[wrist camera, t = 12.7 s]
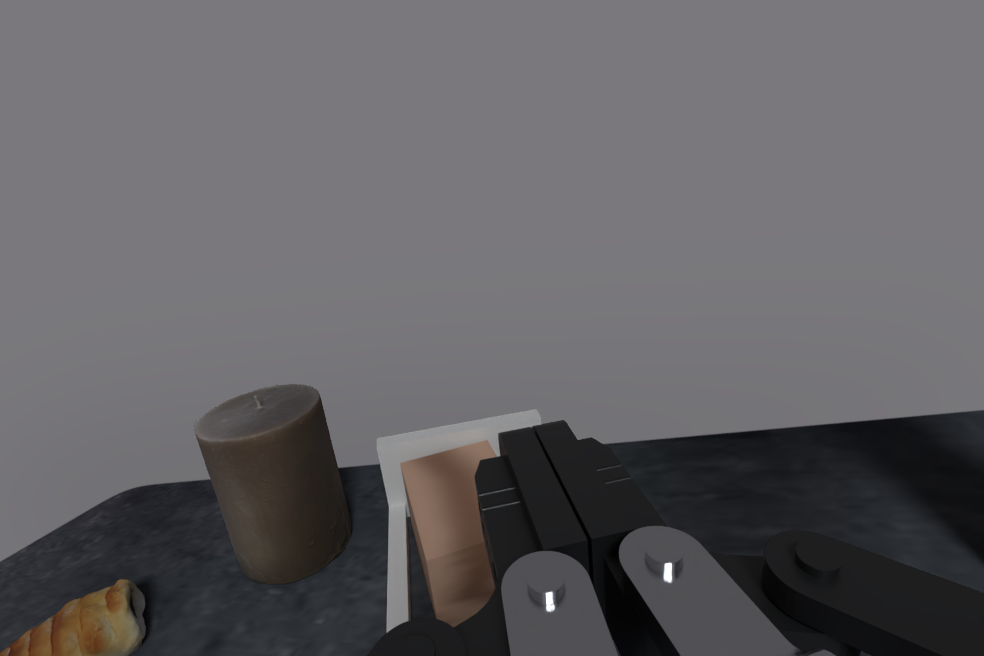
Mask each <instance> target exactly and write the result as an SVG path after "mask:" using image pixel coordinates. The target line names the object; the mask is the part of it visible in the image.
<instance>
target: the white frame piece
mask: <svg viewBox="0 0 984 656" xmlns="http://www.w3.org/2000/svg"><path fill="white" fill-rule="evenodd" d="M536 425H541V417H540V415H539V413H538V411H537V409H534V410H529V411H523V412H518V413H512V414H507V415H502V416H496V417H491V418H485V419H480V420H474V421H469V422H463V423H458V424H452V425H447V426H441V427H436V428H431V429H425V430H419V431H414V432H408V433H403V434H397V435H392V436H387V437H381V438H377V451H378V456H379V461H380V466H381V471H382V475H383V480H384V485H385V490H386V495H387V499H388V504H389V537H388V586H387V632H388V631H390V630H391V629H393V628H394V627H396V626H398V625H400V624H402V623H403V622H406V621H409V620H411V597H410V566H409V536H408V517H410V513H409V508H408V502H407V497H406V492H405V487H404V482H403V476H402V471H401V466H400V463H402V462H406V461H410V460H413V459H417V458H421V457H425V456H428V455H432V454H436V453H440V452H443V451H447V450H451V449H455V448H458V447H462V446H466V445H470V444H473V443H477V442H481V441H485V440H487V441H488V442H489V444H490V446H491V447H492V449H493V450H494V452H495V454H496V455H497V457H498V456H500V450H499V441H498V433H501V432H506V431H511V430H516V429H521V428H526V427H531V428H532V426H536Z"/></svg>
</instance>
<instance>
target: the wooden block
mask: <svg viewBox="0 0 984 656" xmlns="http://www.w3.org/2000/svg"><path fill="white" fill-rule="evenodd" d="M493 457H497V455H496V454H495V452H494V450H493V449H492V447H491V446H490V444H489V442H488V441H487V440H485V441H481V442H477V443H473V444H470V445H466V446H462V447H458V448H455V449H451V450H447V451H443V452H440V453H436V454H432V455H428V456H425V457H421V458H417V459H413V460H410V461H406V462H402V463H400V466H401V471H402V476H403V482H404V487H405V492H406V497H407V502H408V508H409V513H410V518H411V523H412V528H413V532H414V536H415V540H416V544H417V548H418V552H419V556H420V559H421V563H422V567H423V571H424V575H425V579H426V583H427V587H428V591H429V595H430V599H431V603H432V607H433V610H434V614H435V618H436V619H438V620H442V621H444V622H446V623H448V624H450V625H451V626H452V627H455V626H457V625H458V624H460V623H462V622H463V621H465V620H467V619H468V618H470V617H471V616H473V615H474V614H476V613H477V612H478V611H479V610H481V609H482V608H483V607H484V606H485V604H486V603H487V602H488V601H489V599H490V598H491V596H492V594H493V592H494V590H495V585H494V581H493V576H492V572H491V568H490V563H489V559H488V554H487V550H486V546H485V542H484V537H483V533H482V526H481V519H480V512H479V505H478V499H477V492H476V485H475V478H474V476H475V473H476V470H477V468H478V465H479V462H480V460H483V459H488V458H493Z"/></svg>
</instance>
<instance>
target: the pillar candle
mask: <svg viewBox="0 0 984 656" xmlns="http://www.w3.org/2000/svg"><path fill="white" fill-rule="evenodd" d="M194 427H195V434H196V437H197V440H198V443H199V446H200V449H201V452H202V455H203V458H204V460H205V464H206V467H207V470H208V473H209V475H210V478H211V481H212V485H213V488H214V490H215V493H216V496H217V499H218V502H219V506H220V509H221V512H222V515H223V518H224V522H225V525H226V527H227V529H228V533H229V536H230V540H231V543H232V546H233V549H234V552H235V554H236V557H237V559H238V561H239V564H240V566H241V569H242V571H243V573H244V574H245V576H247V578H249V579H250V580H252V581H254V582H257V583H264V584H285V583H290V582H293V581H297V580H300V579H302V578H305V577H308V576H310V575H311V574H314V573H315V572H317V571H319V570H320V569H322V568H323V567H325V566H326V565H327V564H328V563H329V562H331V561H332V560H333V559H334V558H336V557H337V556H338V555H339V554H340V553H341V552H342V551H343V550H344V548H345V546H346V544H347V543H348V540H349V538H350V536H351V532H352V523H351V518H350V515H349V511H348V506H347V502H346V498H345V494H344V490H343V486H342V482H341V478H340V474H339V470H338V466H337V462H336V458H335V454H334V450H333V447H332V443H331V439H330V434H329V430H328V426H327V422H326V418H325V414H324V410H323V406H322V402H321V398H320V395H319V392H318V391H317V390H316V389H314V388H313V387H311V386H306V385H297V384H289V385H276V386H272V387H266V388H262V389H258V390H255V391H253V392H250V393H247V394H244V395H240V396H238V397H236V398H233V399H230V400H228V401H226V402H224V403H222V404H221V405H219V406H218V407H215V408H214V409H212V410H210V411H209V412H208V413H206V414H205V415H204V416H203V417H202V418H200V420H198V421H196V423H195V424H194Z"/></svg>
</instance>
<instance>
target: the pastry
mask: <svg viewBox="0 0 984 656" xmlns="http://www.w3.org/2000/svg"><path fill="white" fill-rule="evenodd" d="M144 608H145V597H144V595H143V593H142V592H141V591H140V590H139V589H138V588H137V587H136V585H135V584H134V583H133V582H131V581H129V580H125V579H121V580H119V581H118V582H117V583H116V584H115V585H114V586H111V587H108V588H105V589H103V590H100V591H97V592H93V593H90V594H88V595H86V596H85V597H82V598H79V599H75V600H72V601H71V602H69V603H67V604H66V605H64V607H63V608H62V609H61V610H60V611H59V612H58V613H57V614H55V615H54V616H52V617H51V618H49V619H47V620H46V621H45V622H44V623H42V624H41V625H39V626H37V627H35V628H32V629H30V630H29V631H27V632H26V633H24V635H23V636H22V637H21V638H20V639H18V640H17V641H15V642H14V643H12V644H11V645H10V646H9V647H8V648H6V649H5V650H4V651H2V652H1V653H0V656H128V655H130V654H132V653H133V652H134V651H135V650H137V649H138V648H139V647H140V646H141V644H142V639H143V638H144V637H145V632H146V626H145V623H144V619H143V616H142V614H143V611H144Z"/></svg>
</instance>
